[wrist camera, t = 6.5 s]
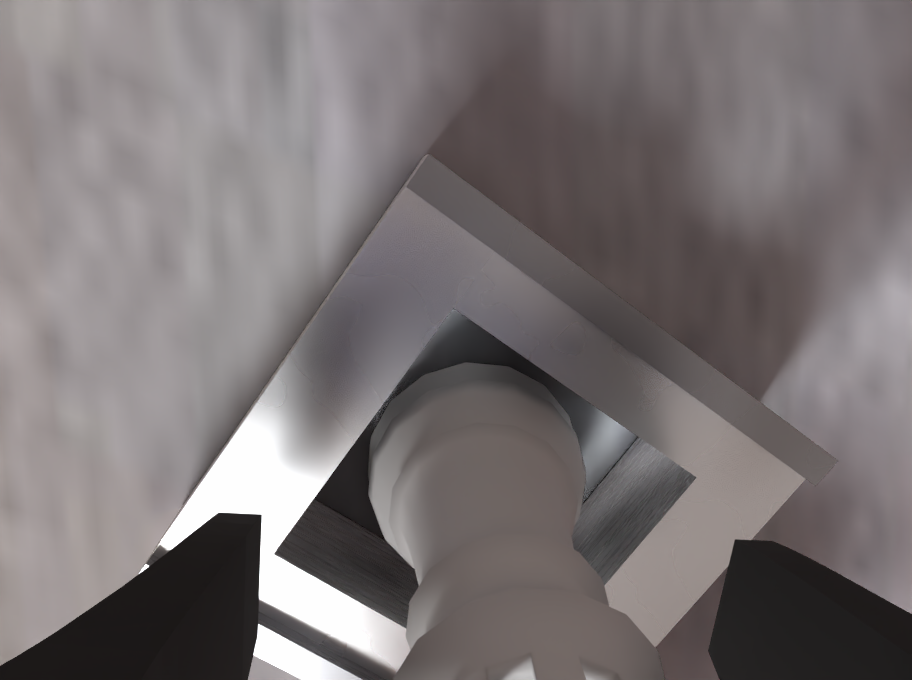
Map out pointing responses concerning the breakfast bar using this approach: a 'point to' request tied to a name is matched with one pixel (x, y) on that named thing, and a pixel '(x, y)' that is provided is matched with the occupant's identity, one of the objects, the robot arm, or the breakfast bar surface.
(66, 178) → the breakfast bar surface
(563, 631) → the rook chess piece
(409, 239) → the block
